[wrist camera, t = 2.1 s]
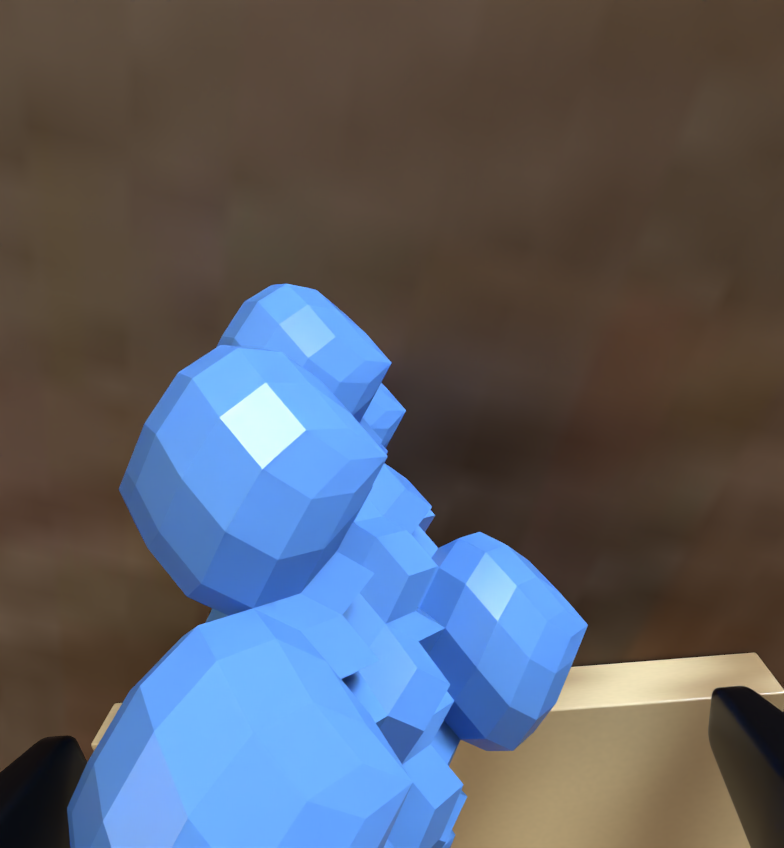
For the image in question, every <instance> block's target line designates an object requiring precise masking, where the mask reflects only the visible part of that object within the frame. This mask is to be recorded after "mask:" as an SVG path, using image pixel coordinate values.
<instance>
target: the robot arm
mask: <svg viewBox="0 0 784 848" xmlns="http://www.w3.org/2000/svg"><path fill="white" fill-rule="evenodd" d="M708 738H709V743H710V746H711V749H712V752H713V755H714V757H715V760H716V762H717V765H718V767H719V770H720V772H721V775H722V777H723V780H724V782H725V785H726V787H727V789H728V792H729V794H730V797H731V799H732V802H733V804H734V807H735V809H736V812H737V814H738V817H739V819H740V822H741V824H742V827H743V829H744V832H745V834H746V837H747V839H748V842H749V844H750V847H751V848H784V712H782V711H781V710H780V709H778V708H777V707H776V706H774V705H773V704H772V703H770V702H769V701H767V700H766V699H765V698H763V697H762V696H761V695H759V694H758V693H757V692H755V691H754V690H752V689H750V688H748V687H746V686H730V687H718V688H716V689H715V690H714V691H713V692H712V696H711V706H710V715H709V724H708ZM86 764H87V761H86V759H85V757H84V754H83V752H82V750H81V748H80V746H79V744H78V742H77V740H76V739H75V738H74V737H72V736H55V737H47V738H44V739H41V740H40V741H38V742H37V743H36V744H34V745H33V746H32V747H31V748H29V749H28V750H27V751H26V752H25V753H23V754H22V755H21V756H20V757H19V758H17V759H16V760H15V761H14V762H13V763H11V764H10V765H9V766H8V767H6V768H5V769H4V770H3V771H2V772H0V848H71V847H70V836H69V825H68V814H67V807H68V805H69V802H70V800H71V798H72V796H73V793H74V791H75V789H76V787H77V784H78V782H79V780H80V778H81V776H82V773H83V771H84V769H85V767H86Z"/></svg>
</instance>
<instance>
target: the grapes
mask: <svg viewBox="0 0 784 848" xmlns="http://www.w3.org/2000/svg"><path fill="white" fill-rule="evenodd" d="M390 365H391V362H390V361H389V359H388V358H387V357H386V356H385V355H384V354H383V353H382V351H381V350H380V349H379V348H378V347H377V346H376V345H375V343H374V342H373V341H372V340H371V339H370V338H369V337H368V335H367V334H366V333H365V332H364V331H363V330H362V329H361V328H359V327H358V326H357V325H356V324H355V323H354V322H353V321H352V320H351V319H350V318H349V317H348V316H347V315H345V314H344V313H343V312H342V311H341V310H340V309H339V308H337V307H336V306H335V305H334V304H333V303H331V302H330V301H329V300H328V299H327V298H325V297H324V296H323V295H322V294H321V293H319V292H318V291H317V290H315V289H310V288H305V287H300V286H296V285H291V284H277V285H271V286H269V287H268V288H266V289H264V290H263V291H261V292H259V293H258V294H256V295H254V296H253V297H251V298H250V299H248V300H246V301H245V302H244V303H243V304H242V306H241V307H240V309H239V311H238V312H237V314H236V315H235V317H234V318H233V320H232V321H231V323H230V324H229V326H228V327H227V329H226V331H225V332H224V334H223V335H222V337H221V339H220V341H219V343H218V345H217V347H216V348H215V349H214V350H212V351H211V352H209V353H207V354H206V355H204V356H203V357H201V358H200V359H198V360H197V361H195V362H194V363H192V364H191V365H189V366H187V367H186V368H184V369H183V370H181V371H180V372H178V374H177V375H176V377H175V378H174V380H173V381H172V383H171V384H170V386H169V387H168V389H167V390H166V392H165V393H164V395H163V396H162V398H161V399H160V401H159V402H158V404H157V406H156V407H155V409H154V410H153V412H152V413H151V415H150V416H149V418H148V419H147V421H146V422H145V424H144V426H143V429H142V431H141V434H140V437H139V439H138V442H137V444H136V447H135V449H134V452H133V454H132V457H131V460H130V462H129V465H128V467H127V470H126V472H125V475H124V477H123V480H122V483H121V485H120V488H119V491H120V493H121V495H122V497H123V499H124V501H125V503H126V505H127V507H128V510H129V512H130V514H131V516H132V518H133V520H134V522H135V524H136V526H137V528H138V530H139V532H140V534H141V536H142V538H143V540H144V542H145V544H146V546H147V547H148V549H149V550H150V551H151V553H152V554H153V555H154V556H155V558H156V559H157V560H158V561H159V563H160V564H161V565H162V566H163V568H164V569H165V570H166V571H167V573H168V574H169V575H170V576H171V578H172V579H173V580H174V581H175V582H176V584H177V585H178V586H179V587H180V589H181V590H182V591H183V592H184V594H185V595H186V596H187V597H189V598H191V599H193V600H195V601H198V602H200V603H202V604H204V605H206V606H208V607H211V608H212V610H211V612H210V614H209V616H208V618H207V621H206V623H205V624H201V625H198V626H196V627H195V628H194V629H192V630H191V631H189V632H188V633H187V634H185V635H184V636H183V637H182V638H181V639H180V640H179V641H178V642H177V643H176V644H175V645H174V646H173V647H172V648H171V649H170V650H169V651H168V652H167V653H166V654H165V655H164V656H163V657H162V658H161V659H160V660H159V661H158V662H157V663H156V664H155V665H154V667H153V668H152V669H151V670H150V671H149V672H148V673H147V674H146V675H145V676H144V677H143V678H142V679H141V680H140V681H139V682H138V683H137V684H136V685H135V686H134V687H133V688H132V689H131V690H130V691H129V693H128V694H127V696H126V698H125V700H124V701H123V703H122V705H121V706H120V708H119V710H118V711H117V713H116V715H115V717H114V718H113V720H112V722H111V723H110V725H109V727H108V728H107V730H106V732H105V733H104V735H103V737H102V739H101V740H100V742H99V744H98V745H97V747H96V749H95V750H94V752H93V754H92V756H91V757H90V759H89V761H88V762H87V764H86V767H85V769H84V771H83V773H82V776H81V778H80V780H79V782H78V784H77V787H76V789H75V791H74V793H73V796H72V798H71V800H70V802H69V805H68V807H67V814H68V825H69V836H70V847H71V848H450V847H451V845H452V842H453V840H454V838H455V833H454V832H453V830H452V828H453V826H454V824H455V822H456V820H457V818H458V816H459V814H460V811H461V809H462V807H463V805H464V803H465V801H466V799H467V797H468V796H467V795H466V794H465V793H464V792H463V791H462V787H463V785H464V784H463V783H462V782H461V781H460V779H459V778H458V777H457V776H456V775H455V773H454V772H453V771H452V770H451V769H450V767H449V765H450V763H451V761H452V758H453V756H454V754H455V751H456V749H457V747H458V745H459V742H460V740H462V741H465V742H467V743H469V744H472V745H474V746H476V747H478V748H481V749H483V750H485V751H514V750H515V749H516V748H517V747H518V746H519V745H520V744H521V743H523V742H524V741H525V740H526V739H527V738H528V737H529V736H530V735H531V734H533V733H534V731H535V730H536V729H537V727H538V726H539V725H540V724H541V722H542V721H543V720H544V718H545V717H546V716H547V714H548V713H549V712H550V710H551V709H552V708H553V707H554V705H555V704H556V702H557V700H558V697H559V695H560V693H561V690H562V688H563V685H564V683H565V681H566V678H567V676H568V673H569V671H570V668H571V666H572V664H573V661H574V659H575V656H576V654H577V651H578V649H579V646H580V644H581V641H582V639H583V636H584V634H585V631H586V629H587V626H588V624H587V623H586V622H585V621H584V620H583V619H582V617H581V616H580V615H579V614H578V613H577V612H576V611H575V609H574V608H573V607H572V606H571V605H570V604H569V603H568V601H567V600H566V599H565V598H564V597H563V596H562V595H561V593H560V592H559V591H558V590H557V589H556V588H555V587H554V586H553V585H552V584H551V583H550V582H549V581H548V580H547V579H546V578H545V577H544V576H543V575H542V574H541V573H540V572H539V571H538V570H537V569H536V567H535V566H534V565H533V564H532V563H531V562H530V561H528V560H527V559H526V558H524V557H523V556H521V555H520V554H519V553H517V552H516V551H514V550H513V549H512V548H510V547H509V546H507V545H506V544H504V543H502V542H500V541H498V540H496V539H494V538H492V537H490V536H488V535H486V534H483V533H481V532H477V533H474V534H471V535H467V536H464V537H461V538H458V539H456V540H454V541H452V542H450V543H448V544H446V545H444V546H442V547H440V548H438V547H437V546H436V545H435V544H434V543H433V542H432V540H431V539H430V538H429V537H428V536H427V535H426V533H425V532H426V530H427V528H428V527H429V525H430V523H431V522H432V520H433V518H434V517H435V515H434V513H433V512H432V511H431V510H430V509H431V508H432V506H431V505H430V504H429V503H428V502H427V500H426V499H425V498H424V497H423V496H422V495H421V494H420V493H419V492H418V491H417V489H416V488H415V487H414V486H413V485H412V484H411V483H410V482H409V481H408V479H406V478H405V477H403V476H402V475H401V474H399V473H398V472H396V471H395V470H393V469H392V468H391V467H389V466H388V465H386V464H385V463H384V462H385V461H386V459H387V457H388V456H387V455H386V454H387V452H388V450H387V449H386V447H387V445H388V443H389V441H390V440H391V438H392V436H393V434H394V432H395V430H396V428H397V427H398V425H399V423H400V421H401V419H402V417H403V415H404V413H405V412H406V410H405V409H404V408H403V407H402V405H401V404H400V403H399V402H398V401H397V400H396V398H395V397H394V396H393V395H392V394H391V393H390V392H389V390H388V389H387V388H386V387H385V386H384V385H383V384H382V383H381V382H382V380H383V378H384V376H385V374H386V372H387V371H388V369H389V367H390Z"/></svg>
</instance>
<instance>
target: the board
mask: <svg viewBox="0 0 784 848" xmlns="http://www.w3.org/2000/svg"><path fill="white" fill-rule="evenodd" d="M730 686H746V687H748V688H750V689H752V690H754V691H755V692H757V693H758V694H759V695H761V696H762V697H763V698H765V699H766V700H767V701H769V702H770V703H772V704H773V705H774V706H776V707H777V708H778V709H780V710H781V711H782V712H783V709H784V689H783V688H782V687H781V685H780V684H779V683H778V681H777V680H776V679H775V677H774V676H773V675H772V673H771V672H770V671H769V669H768V668H767V667H766V665H765V664H764V663H763V661H762V660H761V659H760V658H759V656H758V655H757V654H756V653H742V654H730V655H717V656H704V657H692V658H679V659H667V660H654V661H642V662H629V663H617V664H604V665H591V666H579V667H571V668H570V671H569V673H568V676H567V678H566V681H565V683H564V685H563V688H562V690H561V693H560V695H559V697H558V700H557V702H556V704H555V705H554V707H553V708H552V709H551V710H550V712H549V713H548V714H547V716H546V717H545V718H544V720H543V721H542V722H541V724H540V725H539V726H538V727H537V729H536V730H535V731H534V733H533V734H531V735H530V736H529V737H528V738H527V739H526V740H525V741H524V742H523V743H521V744H520V745H519V746H518V747H517V748H516V749H515V750H514V751H485V750H483V749H481V748H478V747H476V746H474V745H472V744H469V743H467V742H465V741H462V740H460V742H459V745H458V747H457V749H456V751H455V754H454V756H453V758H452V761H451V763H450V765H449V767H450V769H451V770H452V771H453V772H454V773H455V775H456V776H457V777H458V778H459V779H460V781H461V782H462V783H463V784H464V785H463V787H462V791H463V792H464V793H465V794H466V795H467V796H468V797H467V799H466V801H465V803H464V805H463V807H462V809H461V811H460V814H459V816H458V818H457V820H456V822H455V824H454V826H453V828H452V830H453V832H454V833H455V838H454V840H453V842H452V845H451V847H450V848H751V847H750V844H749V842H748V839H747V837H746V834H745V832H744V829H743V827H742V824H741V822H740V819H739V817H738V814H737V812H736V809H735V807H734V804H733V802H732V799H731V797H730V794H729V792H728V789H727V787H726V785H725V782H724V780H723V777H722V775H721V772H720V770H719V767H718V765H717V762H716V760H715V757H714V755H713V752H712V749H711V746H710V743H709V738H708V724H709V715H710V706H711V696H712V692H713V691H714V690H715V689H716V688H718V687H730ZM121 705H122V703H116V704H114V705H113V707H112V709H111V710H110V712H109V714H108V716H107V717H106V719H105V721H104V723H103V724H102V726H101V728H100V730H99V731H98V733H97V735H96V737H95V738H94V740H93V742H92V744H91V746H92V748H93V750H95V749H96V747H97V745H98V744H99V742H100V740H101V739H102V737H103V735H104V733H105V732H106V730H107V728H108V727H109V725H110V723H111V722H112V720H113V718H114V717H115V715H116V713H117V711H118V710H119V708H120V706H121Z"/></svg>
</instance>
